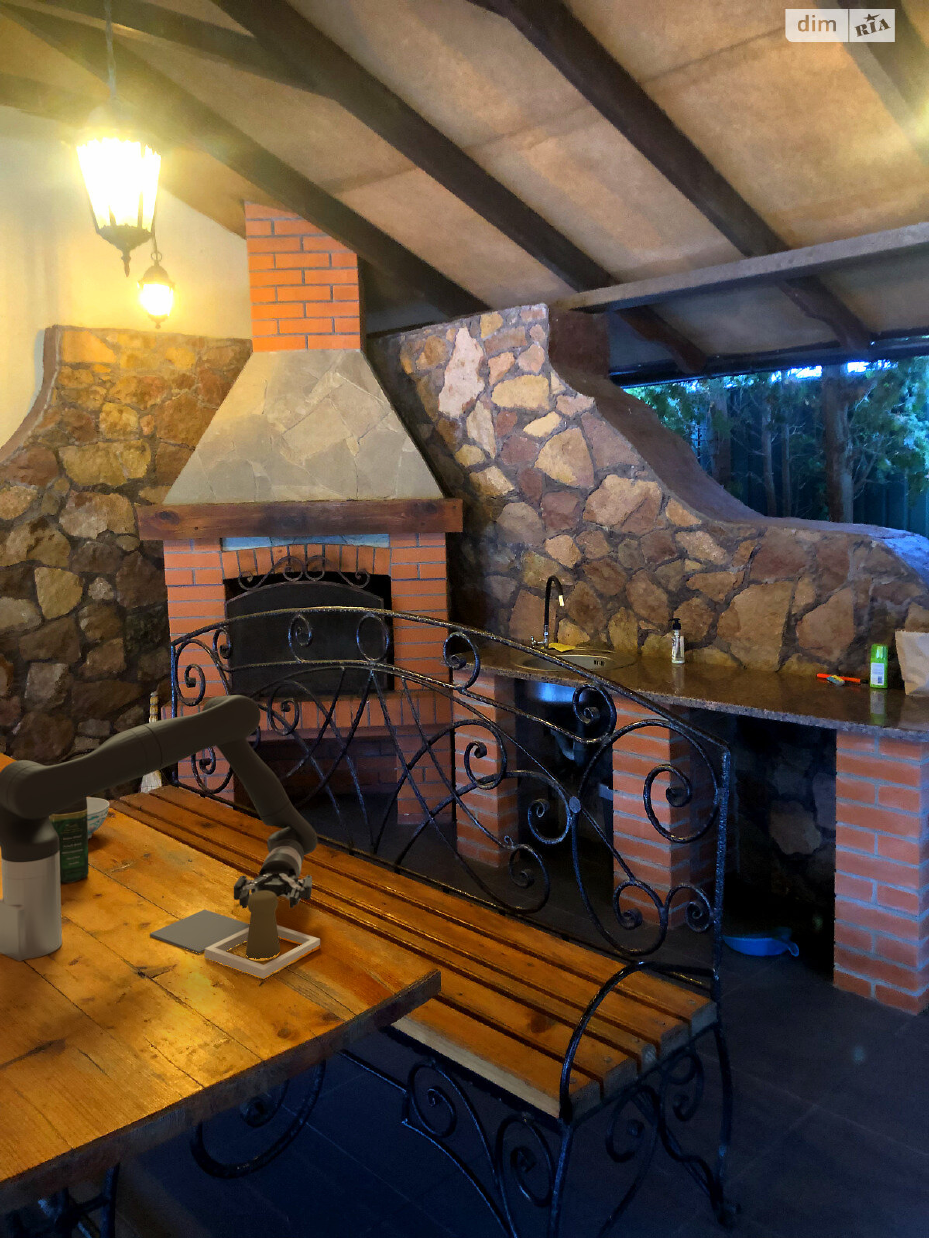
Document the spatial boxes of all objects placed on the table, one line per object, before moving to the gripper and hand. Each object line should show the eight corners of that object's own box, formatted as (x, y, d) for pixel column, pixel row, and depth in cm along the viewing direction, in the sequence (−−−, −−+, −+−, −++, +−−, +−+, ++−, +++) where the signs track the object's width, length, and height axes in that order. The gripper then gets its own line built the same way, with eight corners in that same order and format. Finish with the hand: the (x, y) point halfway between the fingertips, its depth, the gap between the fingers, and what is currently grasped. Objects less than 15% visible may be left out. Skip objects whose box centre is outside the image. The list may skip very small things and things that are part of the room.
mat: (199, 954, 161) (199, 951, 161) (149, 935, 168) (149, 933, 168) (253, 927, 172) (253, 925, 172) (204, 911, 179) (204, 909, 179)
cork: (238, 956, 161) (237, 895, 160) (261, 942, 166) (260, 884, 165) (265, 964, 158) (265, 902, 157) (287, 950, 163) (287, 890, 162)
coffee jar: (93, 879, 195) (91, 793, 193) (53, 887, 190) (50, 799, 188) (82, 865, 203) (80, 782, 201) (43, 872, 198) (40, 788, 196)
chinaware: (63, 853, 210) (62, 820, 209) (29, 839, 219) (28, 807, 218) (122, 836, 222) (121, 805, 221) (88, 823, 231) (87, 793, 230)
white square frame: (263, 980, 152) (263, 969, 152) (204, 958, 160) (204, 948, 160) (320, 948, 164) (320, 938, 164) (262, 929, 172) (262, 920, 171)
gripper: (244, 852, 182) (227, 883, 166) (317, 852, 183) (307, 882, 167) (244, 888, 183) (228, 923, 167) (316, 888, 184) (307, 922, 168)
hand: (267, 903), depth 167 cm, fingers open, 8 cm apart
